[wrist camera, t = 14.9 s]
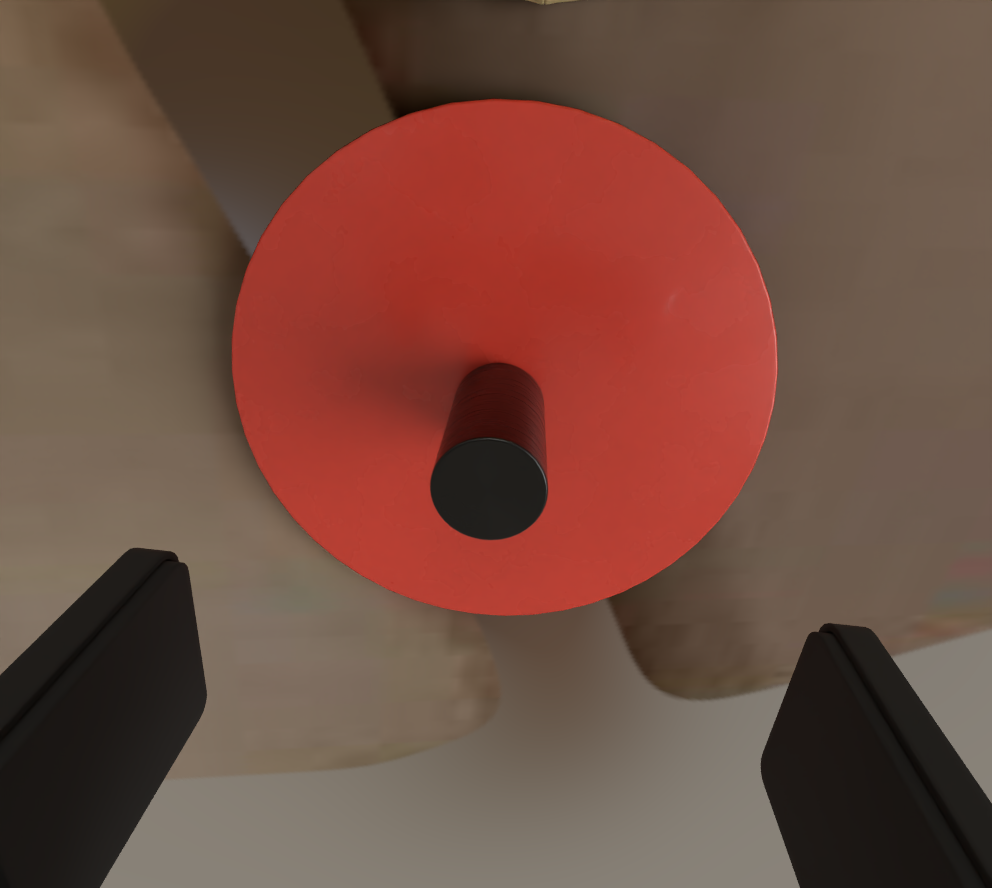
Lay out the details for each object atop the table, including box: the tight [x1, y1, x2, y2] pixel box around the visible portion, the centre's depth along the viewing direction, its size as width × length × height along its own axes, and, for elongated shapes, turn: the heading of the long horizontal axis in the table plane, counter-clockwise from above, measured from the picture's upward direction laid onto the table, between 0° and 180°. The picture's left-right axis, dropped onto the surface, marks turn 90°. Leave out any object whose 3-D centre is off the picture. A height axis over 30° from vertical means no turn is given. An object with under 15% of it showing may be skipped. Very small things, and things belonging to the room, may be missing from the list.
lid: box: [232, 99, 778, 616], centre depth 17 cm, size 16×16×6 cm
